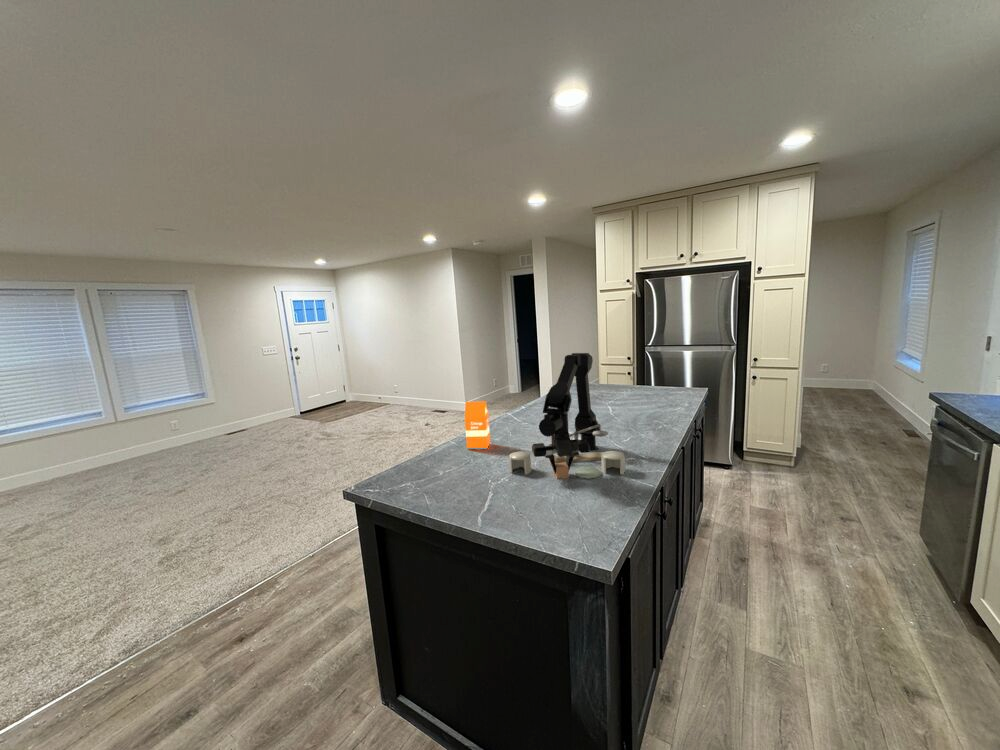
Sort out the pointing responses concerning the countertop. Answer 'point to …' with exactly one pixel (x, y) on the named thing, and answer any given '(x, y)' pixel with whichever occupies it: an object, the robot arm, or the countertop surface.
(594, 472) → the dish
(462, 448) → the countertop surface
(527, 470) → the cover
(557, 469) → the block
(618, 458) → the cover
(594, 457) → the balance
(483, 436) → the orange juice
